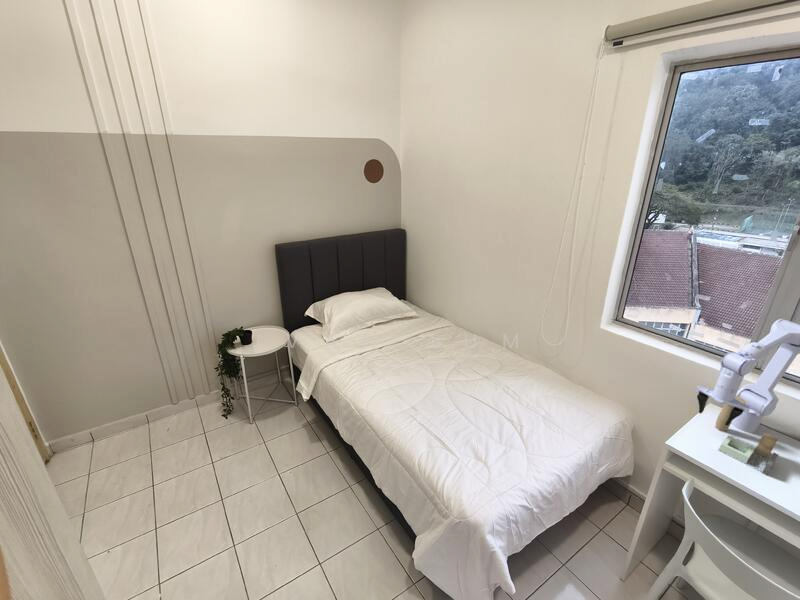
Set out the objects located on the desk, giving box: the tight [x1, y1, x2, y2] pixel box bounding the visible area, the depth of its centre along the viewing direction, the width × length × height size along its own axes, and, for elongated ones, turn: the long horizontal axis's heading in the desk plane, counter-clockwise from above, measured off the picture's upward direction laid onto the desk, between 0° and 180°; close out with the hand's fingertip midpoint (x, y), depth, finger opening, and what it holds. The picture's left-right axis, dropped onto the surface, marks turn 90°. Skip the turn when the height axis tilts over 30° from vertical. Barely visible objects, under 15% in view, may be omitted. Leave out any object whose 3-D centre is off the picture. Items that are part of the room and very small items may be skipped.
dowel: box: [754, 433, 778, 458], centre depth 126 cm, size 4×4×7 cm
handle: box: [714, 396, 746, 433], centre depth 136 cm, size 5×6×15 cm
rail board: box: [717, 434, 779, 476], centre depth 127 cm, size 14×13×5 cm
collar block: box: [718, 434, 756, 464], centre depth 127 cm, size 7×7×2 cm
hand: (713, 418), depth 131 cm, fingers open, 7 cm apart
